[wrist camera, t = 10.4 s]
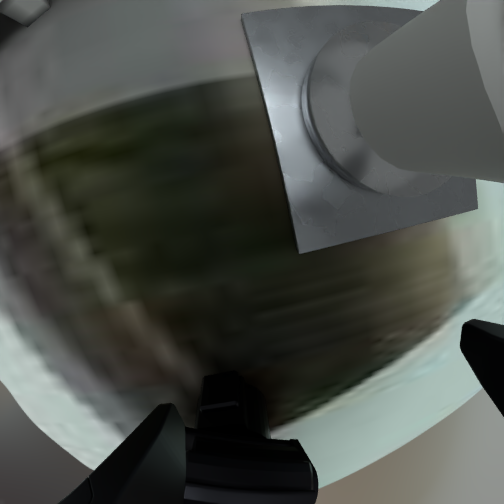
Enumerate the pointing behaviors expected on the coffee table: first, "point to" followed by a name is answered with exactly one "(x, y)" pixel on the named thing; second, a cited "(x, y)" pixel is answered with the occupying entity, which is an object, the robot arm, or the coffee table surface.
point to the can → (437, 92)
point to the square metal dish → (337, 127)
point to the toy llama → (24, 10)
